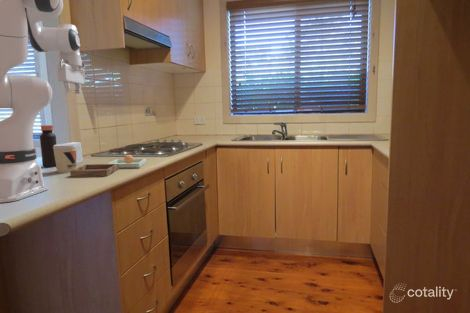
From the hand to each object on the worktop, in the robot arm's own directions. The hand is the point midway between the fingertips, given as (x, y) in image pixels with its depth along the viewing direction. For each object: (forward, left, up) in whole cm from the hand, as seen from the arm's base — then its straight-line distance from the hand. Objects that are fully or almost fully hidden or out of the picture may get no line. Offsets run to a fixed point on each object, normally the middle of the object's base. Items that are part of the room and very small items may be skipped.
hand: (73, 93), depth 152 cm
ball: (+5, -22, -32) cm, 39 cm away
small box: (+15, +9, -35) cm, 39 cm away
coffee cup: (-8, +2, -35) cm, 36 cm away
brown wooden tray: (-14, -13, -35) cm, 40 cm away
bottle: (+6, +16, -35) cm, 39 cm away
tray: (+3, -22, -35) cm, 41 cm away
